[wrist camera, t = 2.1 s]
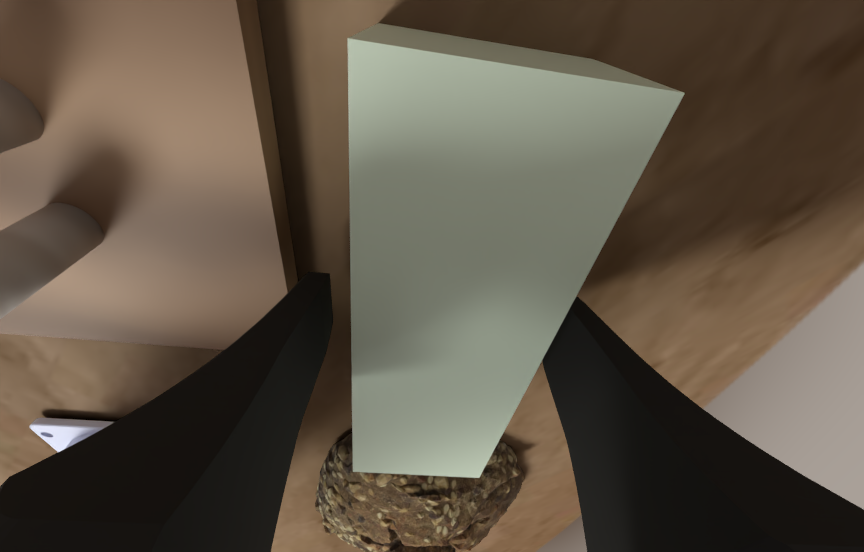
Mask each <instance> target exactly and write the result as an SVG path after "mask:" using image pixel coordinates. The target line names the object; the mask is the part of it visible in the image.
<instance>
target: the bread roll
mask: <svg viewBox="0 0 864 552" xmlns="http://www.w3.org/2000/svg"><path fill="white" fill-rule="evenodd" d="M523 480H524V476H523V472H522V470H521V468H520V466H519V465H518V464H517V457H516V455H515V453H514V452H513V450H512V449H511V447H509V446H507V445H506V444H505V443H504V442H501V441H499V442H498V444H497V446H496V447H495V449H494V451H493V453H492V455H491V457H490V459H489V461H488V462H487V464H486V466H485V468H484V470H483V472H482V474H481V476H480V477H479V478H469V477H449V476H429V475H409V474H388V473H368V472H353V447H352V433H351V434H350V435H348V436H347V437H345V438H344V440H342V441H340V442H337V443H335V444H334V445H333V446H332V448H331V449H330V450H329V453H328V455H327V458H326V460H325V461H324V463H323V466H322V468H321V471H320V479H319V483H318V488H317V492H316V497H317V500H316V502H315V507H316V511H319V512H320V514H321V515H322V517H323V525H324V528H325V531H326V533H327V534H328V535H331V534H332V533H335V534H336V535H337V536H338V537H339V538H340V539H342V540H344V541H345V542H347V543H348V544H351V545H352V546H353V547H355V548H356V547H358V548H360V549H361V550H363V551H364V552H455V551H459V552H461V551H470V550H471V548H473V547H475V546H476V545H477V544H479V543H480V542H481V540H482V539H483V538H484V537H486V536H487V534H488V532H489V530H490V528H492V527H493V526H494V525H496V523H497V522H498V520H499V519H500V517H502V516H503V515H504V514H505V513H506V512H507V508H508V507H509V506H510V504H511V503H512V502H513V500H514V499H516V496H517V494H518V493H519V491H520V488H521V485H522V482H523Z"/></svg>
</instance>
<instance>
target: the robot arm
mask: <svg viewBox="0 0 864 552" xmlns="http://www.w3.org/2000/svg"><path fill="white" fill-rule="evenodd" d="M332 324H333V313H332V299H331V285H330V274H328V273H317V272H308V273H307V274H305V276H304V277H303V278H302V279H301V280H300V281H299V282H298V283H297V284H296V285H295V286H294V287H293V288H292V289H291V290H290V291H289V292H288V293H287V294H286V295H285V296H284V297H283V298H282V299H281V300H280V301H279V302H278V303H277V304H276V305H275V306H274V307H273V308H272V309H271V310H270V311H269V312H268V313H267V314H266V315H265V316H264V317H262V318H261V319H260V320H259V321H258V322H257V323H256V324H255V325H254V326H252V327H251V328H250V329H249V330H248V331H247V332H245V333H244V334H243V335H242V336H241V337H240V338H238V339H237V340H236V341H235V342H234V343H233V344H231V345H230V346H229V347H228V348H226V349H225V350H224V351H222V352H221V353H220V354H219V355H217V356H216V357H215V358H213V359H212V360H211V361H209V362H208V363H207V364H205V365H204V366H202V367H201V368H200V369H198V370H197V371H196V372H194V373H193V374H191V375H190V376H188V377H187V378H185V379H184V380H182V381H181V382H179V383H178V384H176V385H175V386H173V387H172V388H170V389H169V390H167V391H166V392H164V393H163V394H161V395H160V396H158V397H156V398H155V399H153V400H152V401H150V402H148V403H147V404H145V405H143V406H142V407H140V408H138V409H136V410H135V411H133V412H131V413H130V414H128V415H126V416H125V417H123V418H121V419H119V420H118V421H116V422H113V421H95V420H77V419H59V418H37V419H35V420H34V421H33V422H32V424H31V425H30V428H31V429H32V430H33V431H34V432H35V433H36V434H37V435H39V436H40V437H41V438H42V439H43V440H45V441H46V442H47V443H48V444H49V445H50V446H52V447H53V448H54V449H55V450H56V451H57V452H58V453H56V454H54V455H52V456H50V457H48V458H46V459H44V460H42V461H40V462H38V463H36V464H35V465H33V466H31V467H29V468H27V469H25V470H23V471H21V472H18V473H16V474H14V475H12V476H10V477H9V478H8V479H7V480H6V481H5V482H4V483H3V484H2V485H1V486H0V552H271V547H272V543H273V538H274V533H275V529H276V524H277V520H278V515H279V511H280V506H281V502H282V497H283V493H284V489H285V485H286V481H287V476H288V472H289V468H290V464H291V460H292V456H293V452H294V448H295V444H296V440H297V436H298V432H299V429H300V425H301V422H302V419H303V416H304V413H305V410H306V407H307V405H308V402H309V399H310V396H311V393H312V391H313V388H314V385H315V382H316V379H317V377H318V374H319V371H320V368H321V365H322V362H323V359H324V357H325V354H326V351H327V346H328V342H329V338H330V333H331V328H332ZM542 361H543V366H544V370H545V373H546V376H547V380H548V383H549V386H550V389H551V392H552V395H553V399H554V402H555V405H556V408H557V411H558V414H559V417H560V420H561V424H562V427H563V430H564V433H565V437H566V440H567V444H568V448H569V452H570V457H571V462H572V466H573V471H574V476H575V481H576V486H577V492H578V497H579V502H580V508H581V513H582V520H583V526H584V532H585V539H586V546H587V552H864V510H863V509H862V508H860V507H858V506H856V505H854V504H853V503H851V502H849V501H847V500H845V499H844V498H842V497H840V496H838V495H837V494H835V493H833V492H831V491H830V490H828V489H826V488H824V487H823V486H821V485H819V484H817V483H816V482H814V481H812V480H810V479H808V478H807V477H805V476H803V475H802V474H800V473H798V472H797V471H795V470H793V469H792V468H790V467H789V466H787V465H785V464H784V463H782V462H781V461H779V460H777V459H776V458H774V457H772V456H771V455H769V454H768V453H766V452H764V451H763V450H761V449H760V448H758V447H757V446H755V445H754V444H752V443H751V442H749V441H748V440H746V439H745V438H743V437H742V436H740V435H739V434H737V433H736V432H734V431H733V430H731V429H730V428H729V427H727V426H726V425H724V424H723V423H721V422H720V421H719V420H717V419H716V418H714V417H713V416H712V415H710V414H709V413H708V412H706V411H705V410H703V409H702V408H701V407H699V406H698V405H697V404H696V403H694V402H693V401H692V400H690V399H689V398H688V397H687V396H685V395H684V394H683V393H681V392H680V391H679V390H678V389H676V388H675V387H674V386H673V385H672V384H670V383H669V382H668V381H667V380H665V379H664V378H663V377H662V376H661V375H660V374H659V373H657V372H656V371H655V370H654V369H653V368H652V367H651V366H650V365H648V364H647V363H646V362H645V361H644V360H643V359H642V358H641V357H640V356H638V355H637V354H636V353H635V352H634V351H633V350H632V349H631V348H630V347H629V346H628V345H627V344H626V343H625V342H624V341H623V340H622V339H621V338H620V337H618V336H617V335H616V334H615V333H614V332H613V331H612V330H611V329H610V328H609V327H608V326H607V325H606V324H605V323H604V322H603V321H602V320H601V319H600V318H599V317H598V316H597V315H596V314H595V313H594V312H593V311H592V310H591V309H590V308H589V307H588V306H587V305H586V304H585V303H584V302H583V301H582V300H580V299H579V298H578V297H576V298H575V300H574V302H573V303H572V305H571V307H570V309H569V311H568V313H567V315H566V316H565V318H564V320H563V322H562V324H561V326H560V328H559V330H558V331H557V333H556V335H555V337H554V339H553V341H552V343H551V345H550V346H549V348H548V350H547V352H546V354H545V356H544V358H543V360H542Z"/></svg>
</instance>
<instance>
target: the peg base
mask: <svg viewBox="0 0 864 552" xmlns="http://www.w3.org/2000/svg"><path fill="white" fill-rule="evenodd" d="M297 283H298V278H297V272H296V265H295V258H294V251H293V245H292V238H291V231H290V224H289V217H288V211H287V204H286V197H285V190H284V183H283V177H282V170H281V163H280V156H279V149H278V143H277V136H276V129H275V122H274V115H273V109H272V102H271V95H270V88H269V81H268V75H267V68H266V61H265V54H264V48H263V41H262V34H261V27H260V20H259V14H258V7H257V0H0V333H3V334H17V335H30V336H44V337H57V338H71V339H84V340H98V341H111V342H125V343H138V344H152V345H165V346H179V347H192V348H206V349H219V350H225V349H226V348H228V347H229V346H230V345H231V344H233V343H234V342H235V341H236V340H237V339H238V338H240V337H241V336H242V335H243V334H244V333H245V332H247V331H248V330H249V329H250V328H251V327H252V326H254V325H255V324H256V323H257V322H258V321H259V320H260V319H261V318H262V317H264V316H265V315H266V314H267V313H268V312H269V311H270V310H271V309H272V308H273V307H274V306H275V305H276V304H277V303H278V302H279V301H280V300H281V299H282V298H283V297H284V296H285V295H286V294H287V293H288V292H289V291H290V290H291V289H292V288H293V287H294V286H295V285H296V284H297Z"/></svg>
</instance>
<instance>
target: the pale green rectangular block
mask: <svg viewBox="0 0 864 552" xmlns="http://www.w3.org/2000/svg"><path fill="white" fill-rule="evenodd" d="M684 94H685V93H684V92H681V91H678V90H676V89H673V88H670V87H667V86H665V85H662V84H659V83H657V82H654V81H651V80H649V79H646V78H643V77H640V76H638V75H635V74H632V73H630V72H627V71H624V70H622V69H619V68H616V67H613V66H611V65H608V64H605V63H603V62H600V61H597V60H594V59H590V58H584V57H578V56H572V55H566V54H560V53H554V52H548V51H542V50H536V49H530V48H524V47H518V46H512V45H506V44H500V43H494V42H488V41H482V40H476V39H470V38H464V37H458V36H452V35H446V34H441V33H435V32H429V31H423V30H417V29H411V28H405V27H399V26H393V25H387V24H381V23H377V24H375V25H373V26H371V27H369V28H367V29H365V30H363V31H361V32H359V33H357V34H355V35H353V36H351V37H349V38H348V108H349V193H350V278H351V362H352V447H353V472H368V473H388V474H409V475H429V476H449V477H469V478H479V477H480V476H481V474H482V472H483V470H484V468H485V466H486V464H487V462H488V461H489V459H490V457H491V455H492V453H493V451H494V449H495V447H496V446H497V444H498V442H499V440H500V438H501V436H502V434H503V433H504V431H505V429H506V427H507V425H508V423H509V421H510V419H511V418H512V416H513V414H514V412H515V410H516V408H517V406H518V404H519V403H520V401H521V399H522V397H523V395H524V393H525V391H526V389H527V388H528V386H529V384H530V382H531V380H532V378H533V376H534V374H535V373H536V371H537V369H538V367H539V365H540V363H541V361H542V360H543V358H544V356H545V354H546V352H547V350H548V348H549V346H550V345H551V343H552V341H553V339H554V337H555V335H556V333H557V331H558V330H559V328H560V326H561V324H562V322H563V320H564V318H565V316H566V315H567V313H568V311H569V309H570V307H571V305H572V303H573V302H574V300H575V298H576V296H577V294H578V292H579V290H580V288H581V287H582V285H583V283H584V281H585V279H586V277H587V275H588V273H589V272H590V270H591V268H592V266H593V264H594V262H595V260H596V258H597V257H598V255H599V253H600V251H601V249H602V247H603V245H604V244H605V242H606V240H607V238H608V236H609V234H610V232H611V230H612V229H613V227H614V225H615V223H616V221H617V219H618V217H619V215H620V214H621V212H622V210H623V208H624V206H625V204H626V202H627V200H628V199H629V197H630V195H631V193H632V191H633V189H634V187H635V186H636V184H637V182H638V180H639V178H640V176H641V174H642V172H643V171H644V169H645V167H646V165H647V163H648V161H649V159H650V157H651V156H652V154H653V152H654V150H655V148H656V146H657V144H658V142H659V141H660V139H661V137H662V135H663V133H664V131H665V129H666V128H667V126H668V124H669V122H670V120H671V118H672V116H673V114H674V113H675V111H676V109H677V107H678V105H679V103H680V101H681V99H682V98H683V96H684Z"/></svg>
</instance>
